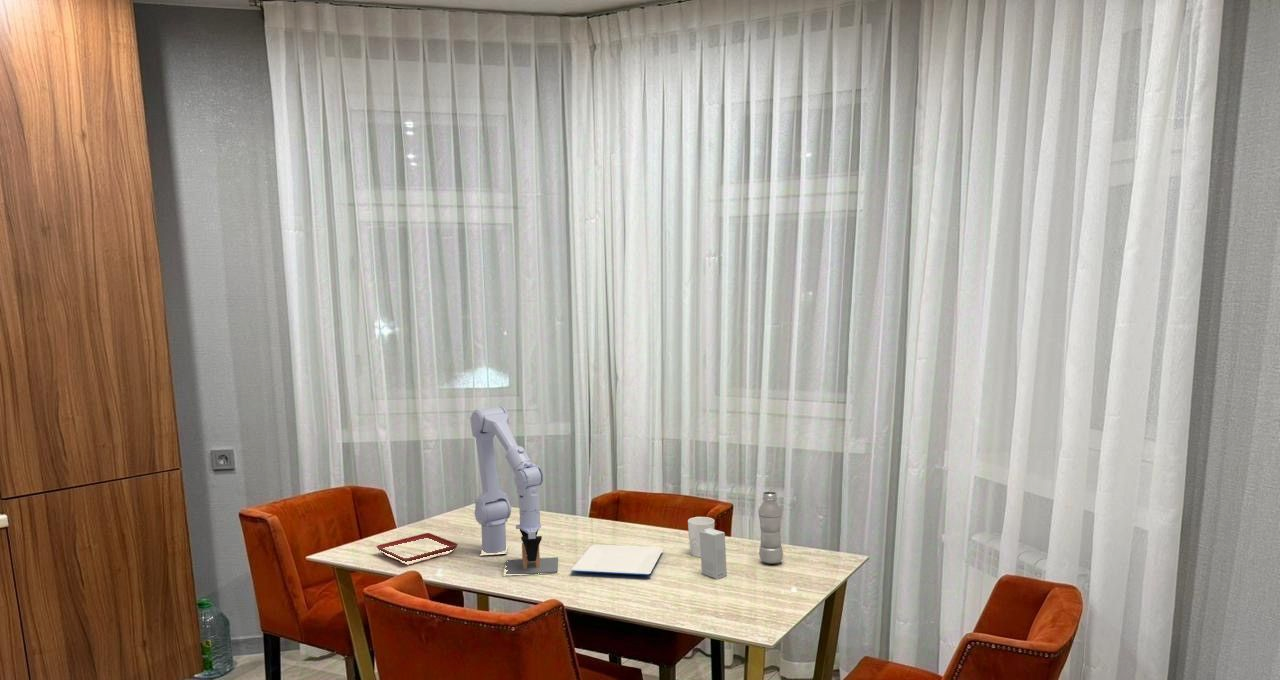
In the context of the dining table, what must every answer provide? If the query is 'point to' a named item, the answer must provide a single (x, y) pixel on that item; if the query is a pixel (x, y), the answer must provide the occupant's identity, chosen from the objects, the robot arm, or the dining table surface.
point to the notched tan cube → (525, 559)
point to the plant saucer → (414, 538)
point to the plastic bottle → (770, 529)
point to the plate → (618, 559)
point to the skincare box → (713, 553)
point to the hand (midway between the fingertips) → (531, 556)
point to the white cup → (698, 532)
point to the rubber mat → (532, 566)
